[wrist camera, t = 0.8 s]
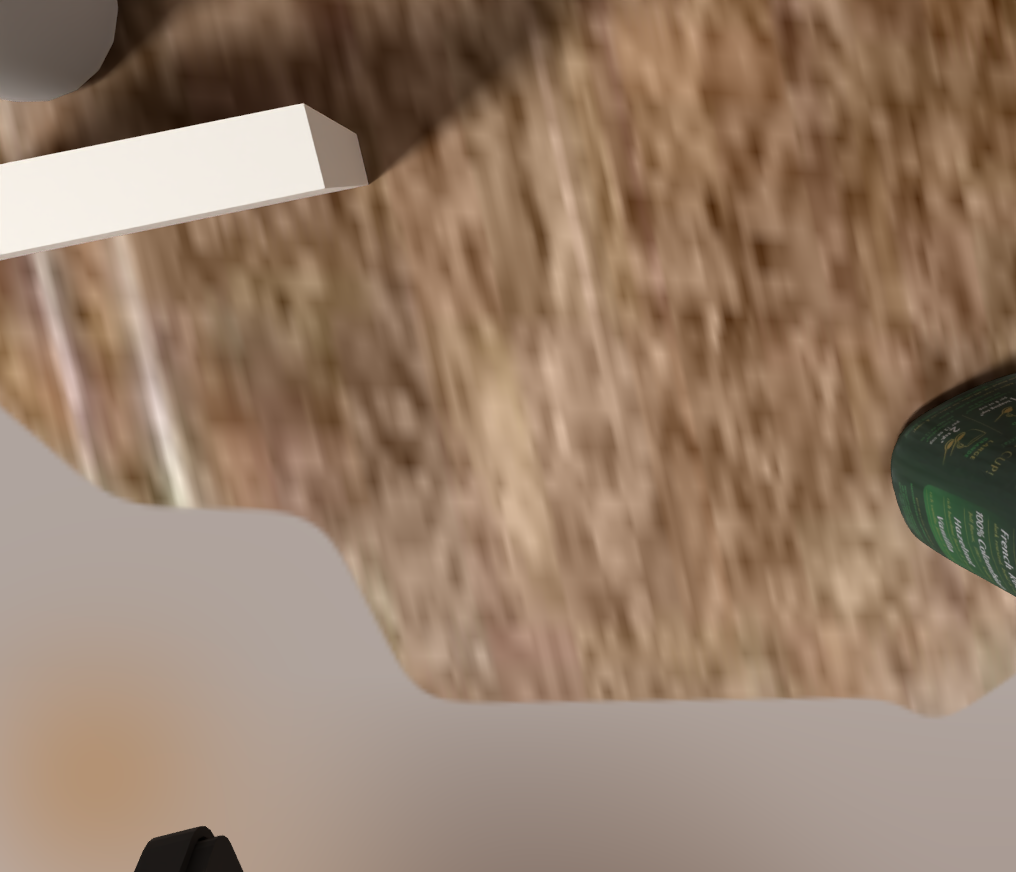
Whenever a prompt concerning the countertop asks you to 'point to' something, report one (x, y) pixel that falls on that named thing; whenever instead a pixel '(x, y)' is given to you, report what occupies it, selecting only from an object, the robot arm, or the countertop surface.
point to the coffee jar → (964, 480)
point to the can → (52, 45)
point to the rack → (174, 178)
